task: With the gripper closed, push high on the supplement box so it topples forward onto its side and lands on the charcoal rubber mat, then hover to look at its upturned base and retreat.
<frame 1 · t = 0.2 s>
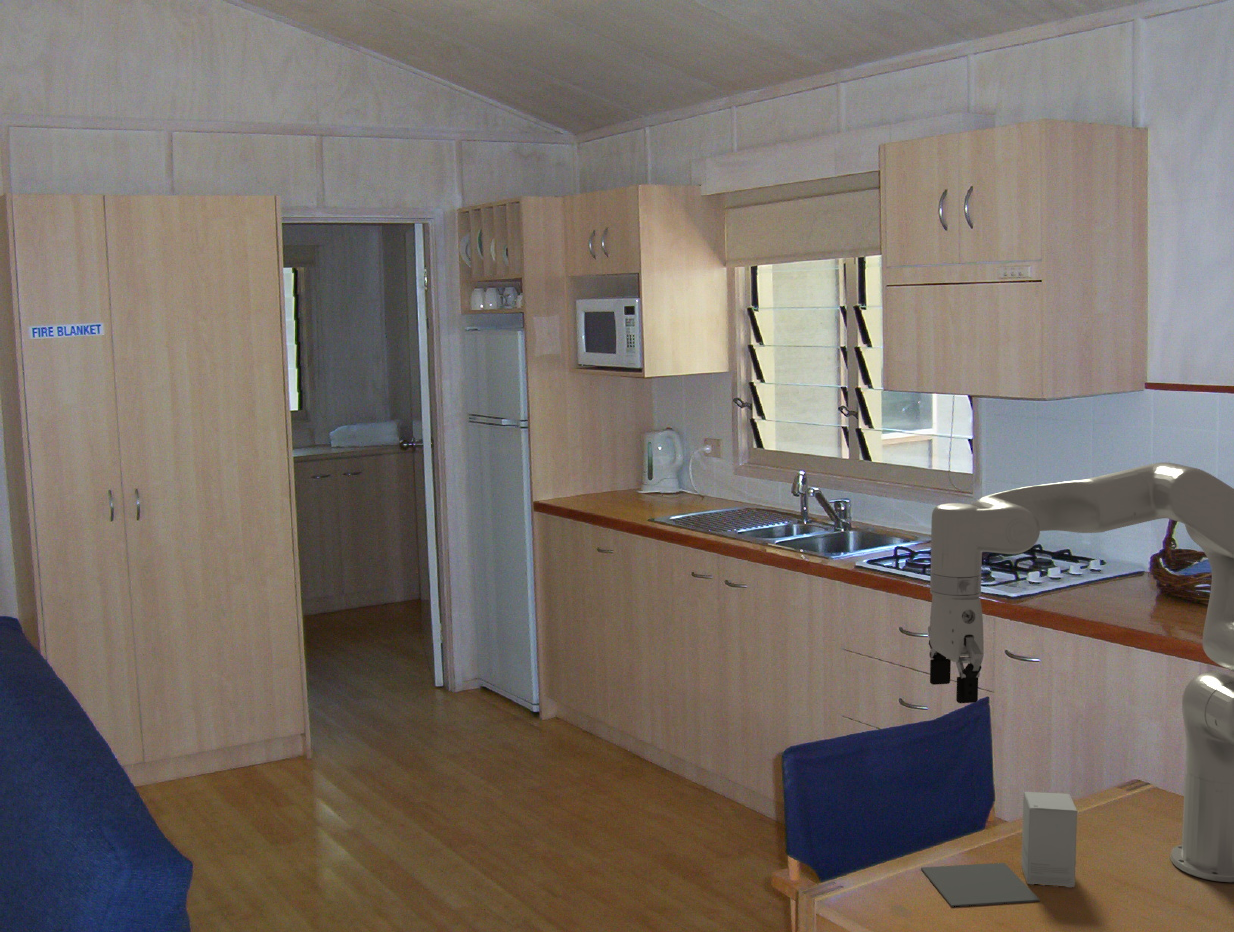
hand: (953, 692, 191), 31 cm above the table, tool pointing down, fingers open, 9 cm apart
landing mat: (978, 885, 194), on the table
supplement box: (1047, 877, 196), on the table
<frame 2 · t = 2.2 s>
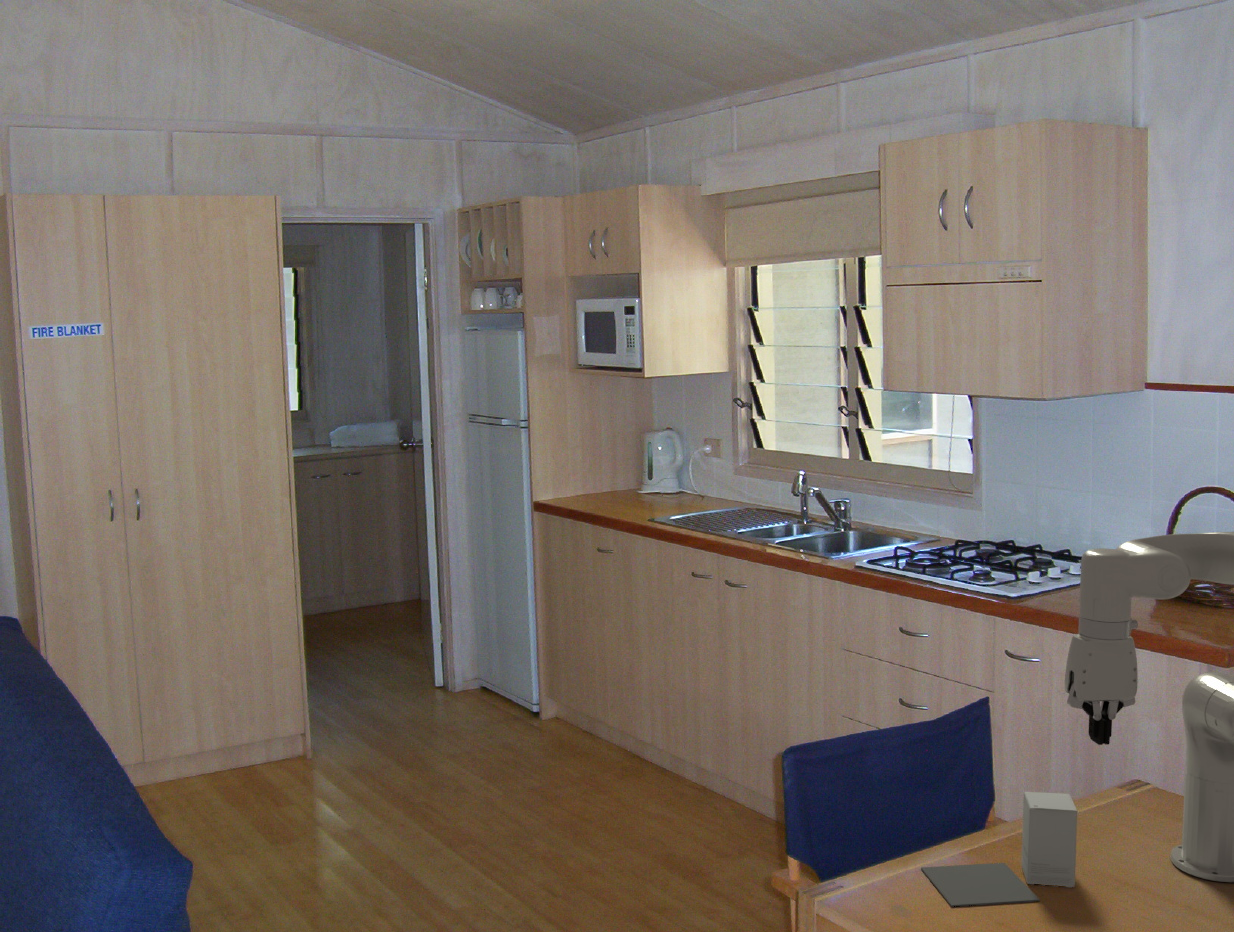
hand: (1099, 741, 195), 22 cm above the table, tool pointing down, fingers closed
nothing on the table moved.
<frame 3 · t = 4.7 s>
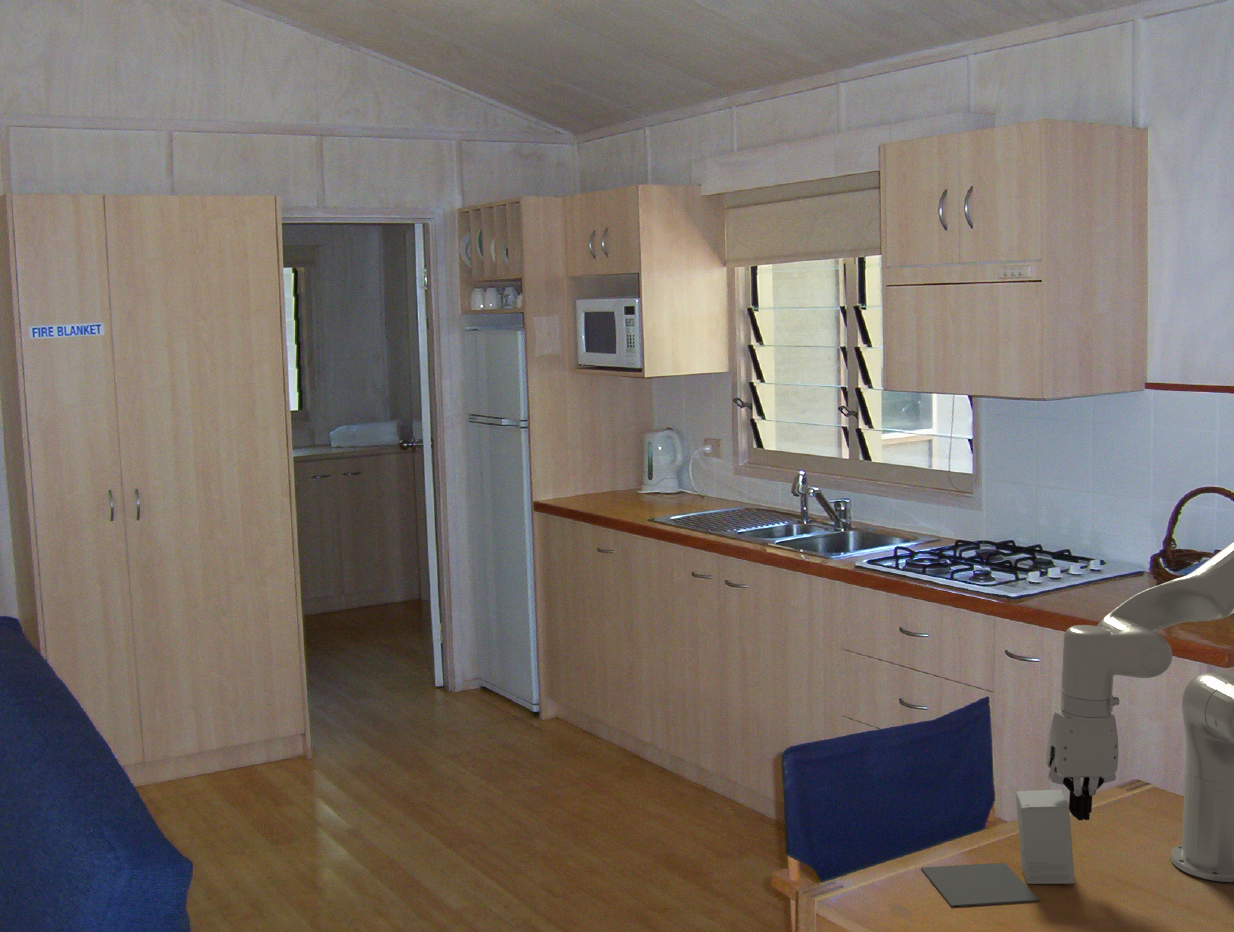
hand: (1079, 816, 196), 10 cm above the table, tool pointing down, fingers closed
supplement box: (1047, 875, 196), on the table, touching gripper
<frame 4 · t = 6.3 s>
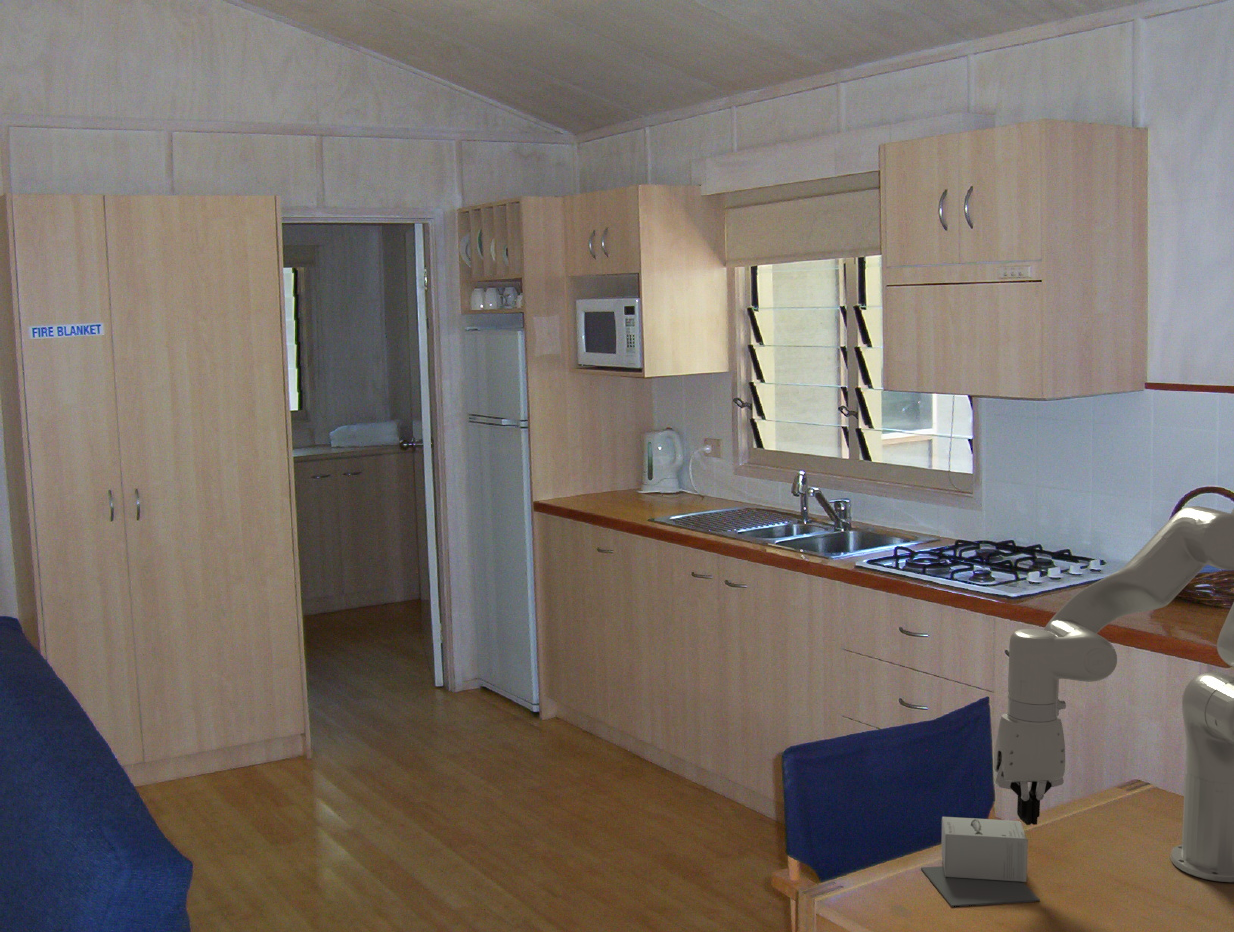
hand: (1028, 821, 195), 9 cm above the table, tool pointing down, fingers closed
supplement box: (1025, 851, 196), point 4 cm above the table, touching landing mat
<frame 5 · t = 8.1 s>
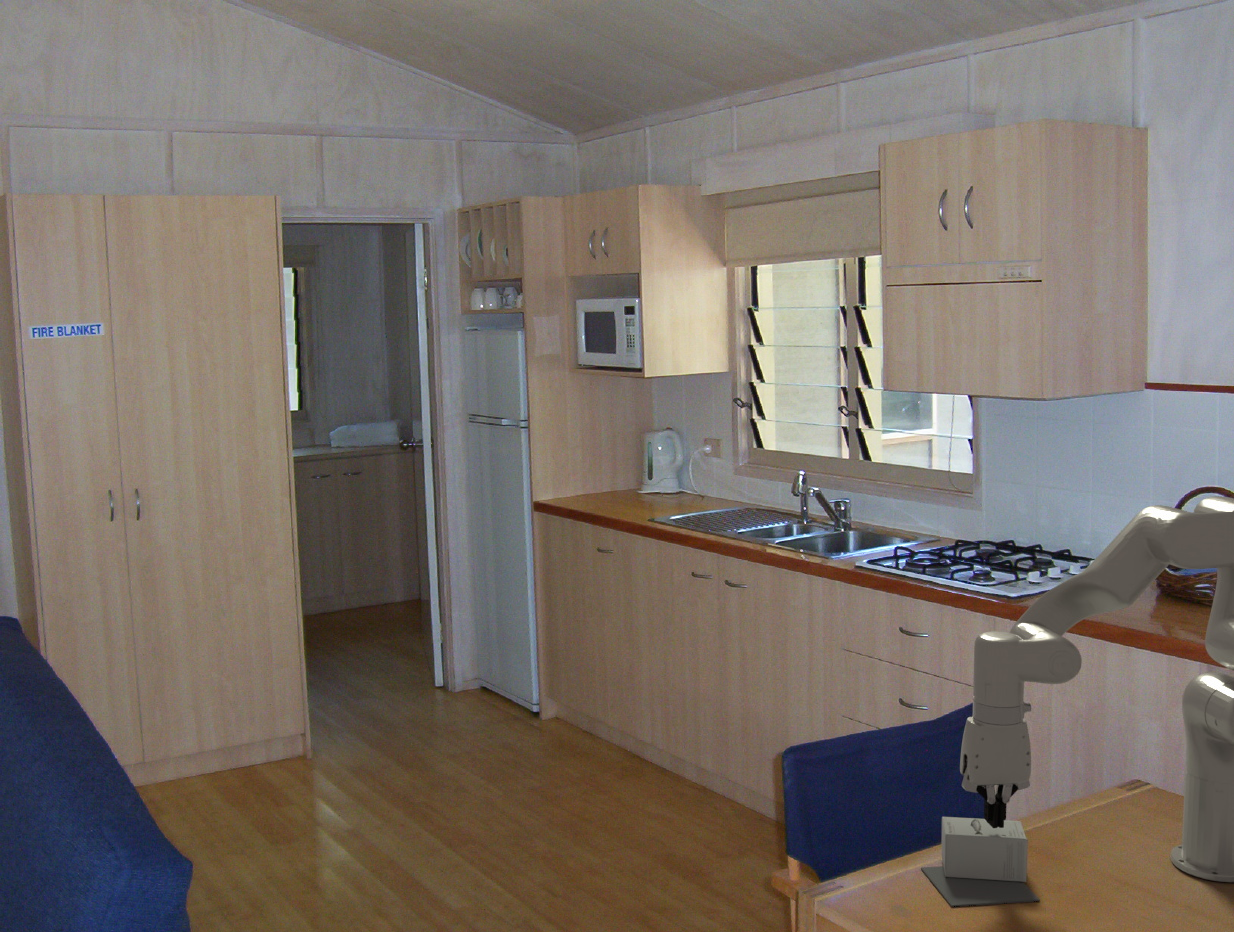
hand: (994, 824, 194), 9 cm above the table, tool pointing down, fingers closed
nothing on the table moved.
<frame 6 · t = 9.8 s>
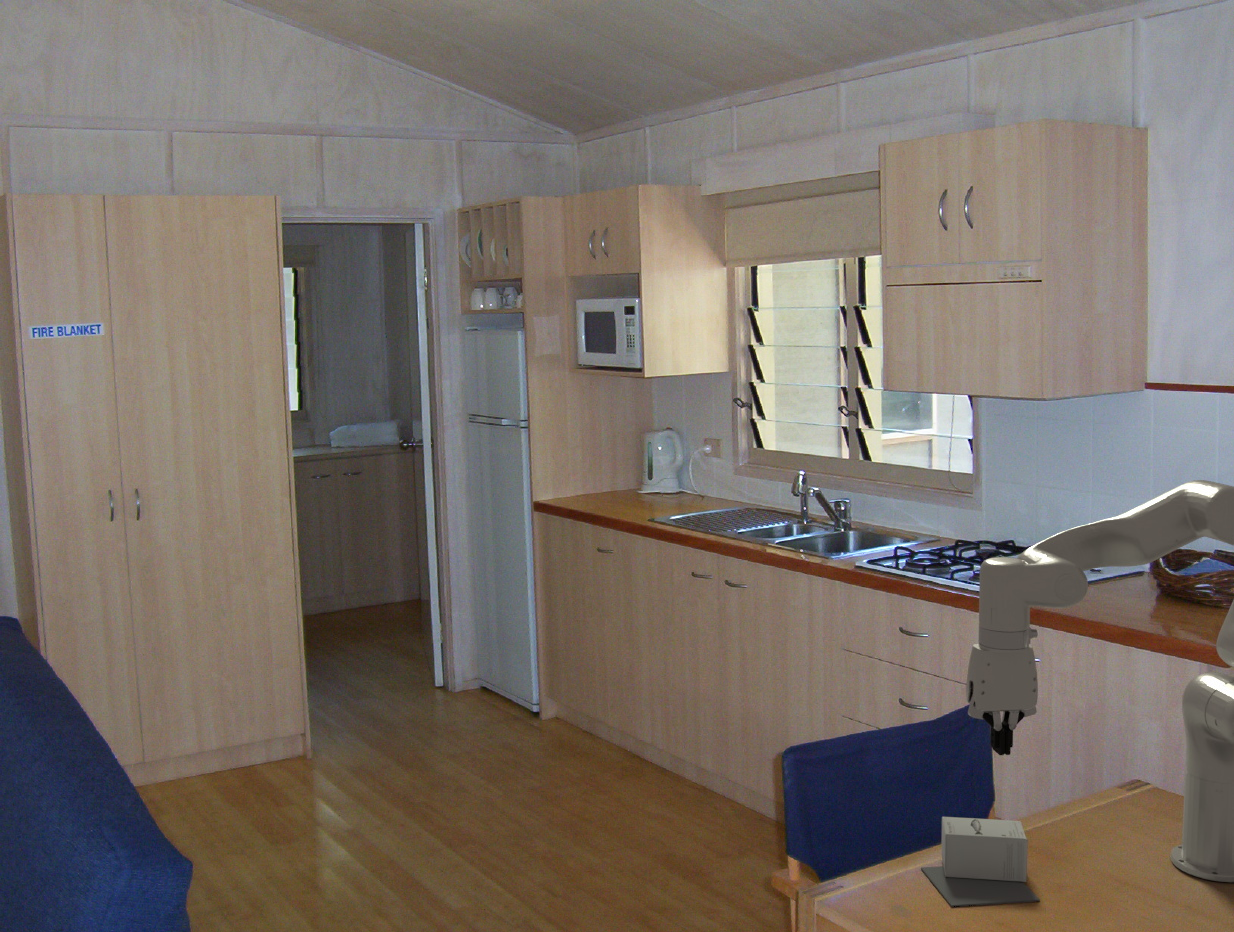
hand: (1001, 752, 193), 21 cm above the table, tool pointing down, fingers closed
nothing on the table moved.
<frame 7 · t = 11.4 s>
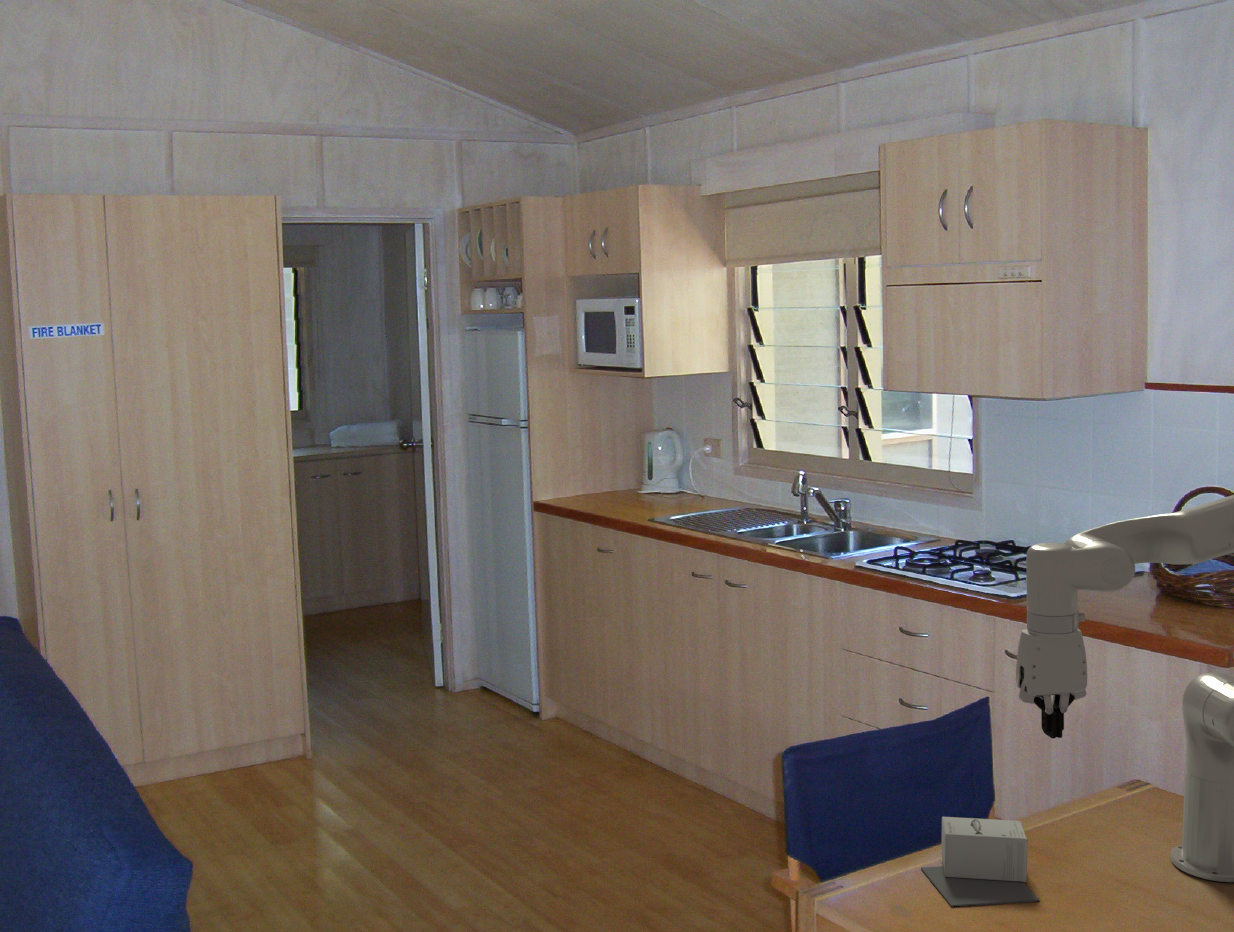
hand: (1052, 735, 195), 23 cm above the table, tool pointing down, fingers closed
nothing on the table moved.
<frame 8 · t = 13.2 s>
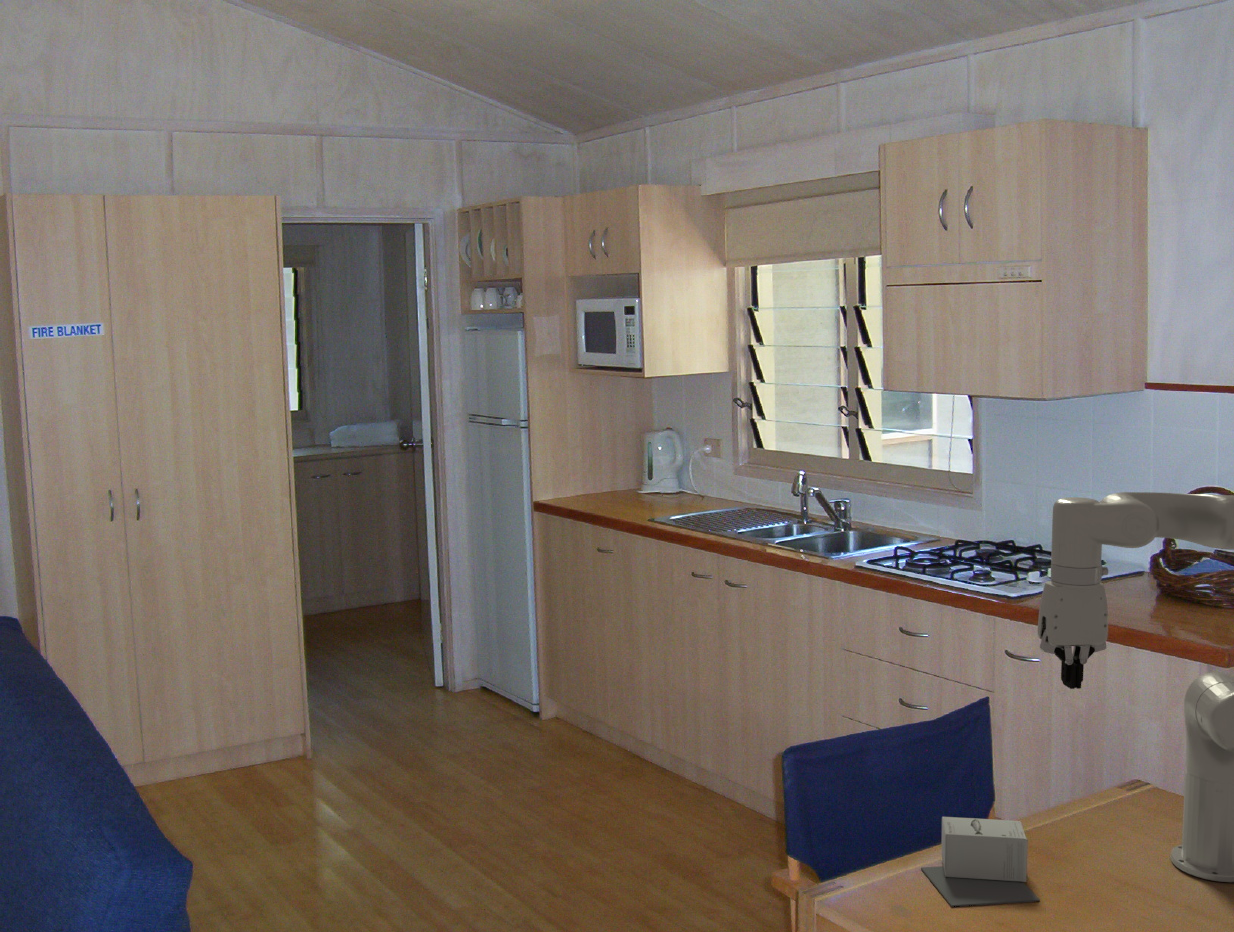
hand: (1071, 686, 199), 29 cm above the table, tool pointing down, fingers closed
nothing on the table moved.
at the end: supplement box tilted 90°; supplement box touching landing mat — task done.
